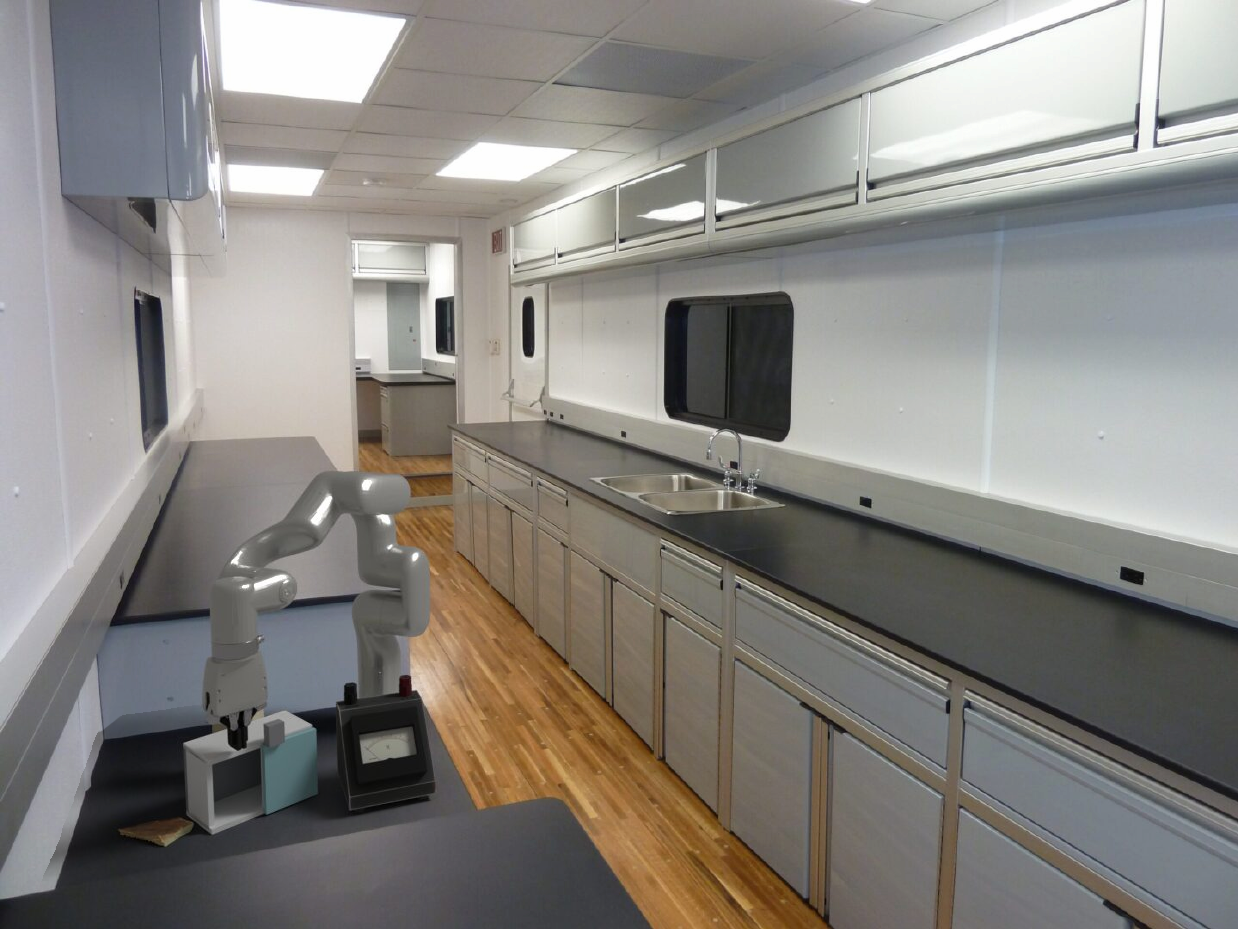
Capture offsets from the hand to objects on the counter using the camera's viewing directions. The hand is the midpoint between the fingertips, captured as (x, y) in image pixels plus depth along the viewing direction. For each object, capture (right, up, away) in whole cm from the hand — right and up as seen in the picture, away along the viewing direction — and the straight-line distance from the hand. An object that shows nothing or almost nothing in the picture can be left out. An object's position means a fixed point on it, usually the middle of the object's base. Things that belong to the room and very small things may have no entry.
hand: (238, 747), depth 158 cm
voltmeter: (+22, -14, +17) cm, 31 cm away
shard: (-14, -16, -1) cm, 21 cm away
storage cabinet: (-2, -14, +10) cm, 18 cm away
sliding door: (+6, -14, +10) cm, 18 cm away
